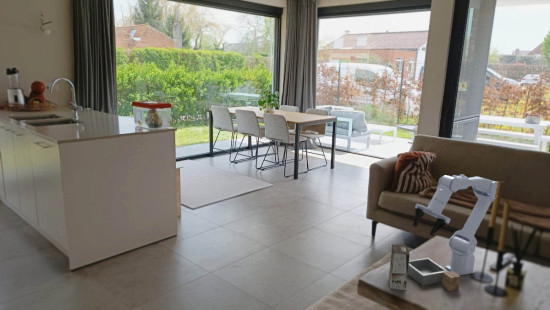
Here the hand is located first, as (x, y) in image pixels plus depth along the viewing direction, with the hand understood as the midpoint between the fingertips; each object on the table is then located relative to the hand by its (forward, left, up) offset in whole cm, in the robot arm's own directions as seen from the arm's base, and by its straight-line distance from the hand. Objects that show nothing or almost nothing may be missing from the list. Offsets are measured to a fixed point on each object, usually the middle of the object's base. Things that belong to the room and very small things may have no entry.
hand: (422, 230), depth 162 cm
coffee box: (+8, -3, -25) cm, 26 cm away
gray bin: (-8, -5, -24) cm, 26 cm away
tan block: (-12, +6, -25) cm, 28 cm away
